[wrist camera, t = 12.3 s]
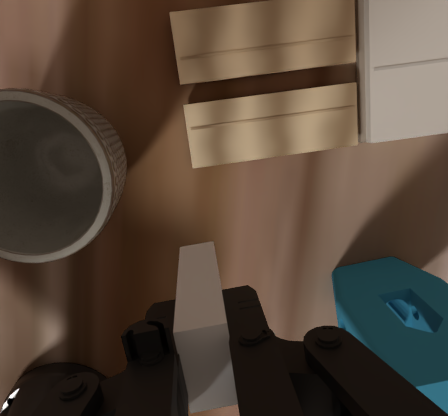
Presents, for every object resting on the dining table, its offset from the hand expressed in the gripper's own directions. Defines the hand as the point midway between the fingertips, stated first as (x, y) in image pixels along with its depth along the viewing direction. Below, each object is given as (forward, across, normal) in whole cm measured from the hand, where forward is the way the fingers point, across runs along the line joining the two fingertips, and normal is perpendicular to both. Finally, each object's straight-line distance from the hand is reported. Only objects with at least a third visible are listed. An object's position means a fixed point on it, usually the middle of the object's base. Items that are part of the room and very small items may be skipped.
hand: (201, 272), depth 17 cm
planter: (+27, -13, +4) cm, 30 cm away
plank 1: (+26, +9, +12) cm, 30 cm away
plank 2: (+26, +9, +4) cm, 28 cm away
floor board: (+26, +24, +8) cm, 37 cm away
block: (+27, +19, -17) cm, 37 cm away
